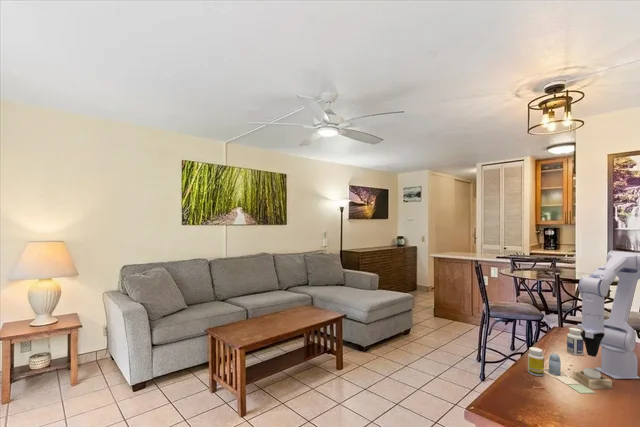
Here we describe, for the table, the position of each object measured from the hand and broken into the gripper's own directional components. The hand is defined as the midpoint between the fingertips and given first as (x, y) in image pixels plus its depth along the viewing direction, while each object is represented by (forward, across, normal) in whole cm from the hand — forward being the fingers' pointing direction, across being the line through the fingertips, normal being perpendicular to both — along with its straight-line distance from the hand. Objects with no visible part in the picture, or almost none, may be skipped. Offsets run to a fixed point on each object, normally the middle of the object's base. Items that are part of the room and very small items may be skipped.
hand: (592, 354), depth 111 cm
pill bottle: (+10, -28, -9) cm, 31 cm away
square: (+9, +4, -6) cm, 12 cm away
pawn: (+9, 0, -10) cm, 14 cm away
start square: (+9, 0, -10) cm, 14 cm away
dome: (+8, 0, 0) cm, 8 cm away
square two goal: (+9, +8, -2) cm, 12 cm away
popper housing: (+9, 0, 0) cm, 9 cm away
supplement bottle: (+10, +6, -15) cm, 19 cm away
